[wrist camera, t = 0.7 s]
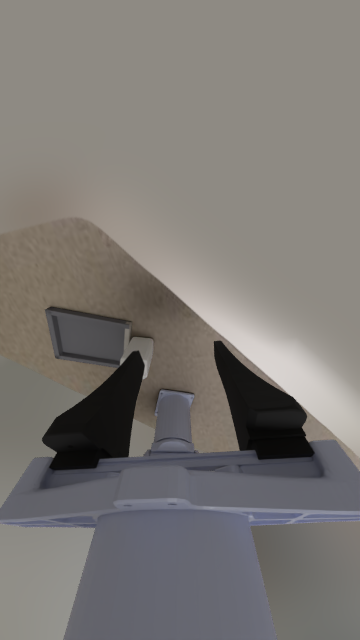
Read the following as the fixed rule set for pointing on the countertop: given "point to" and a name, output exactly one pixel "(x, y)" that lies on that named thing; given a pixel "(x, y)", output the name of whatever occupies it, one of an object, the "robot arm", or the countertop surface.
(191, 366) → the countertop surface
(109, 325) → the tray
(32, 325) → the countertop surface
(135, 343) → the pepper shaker
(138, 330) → the countertop surface
